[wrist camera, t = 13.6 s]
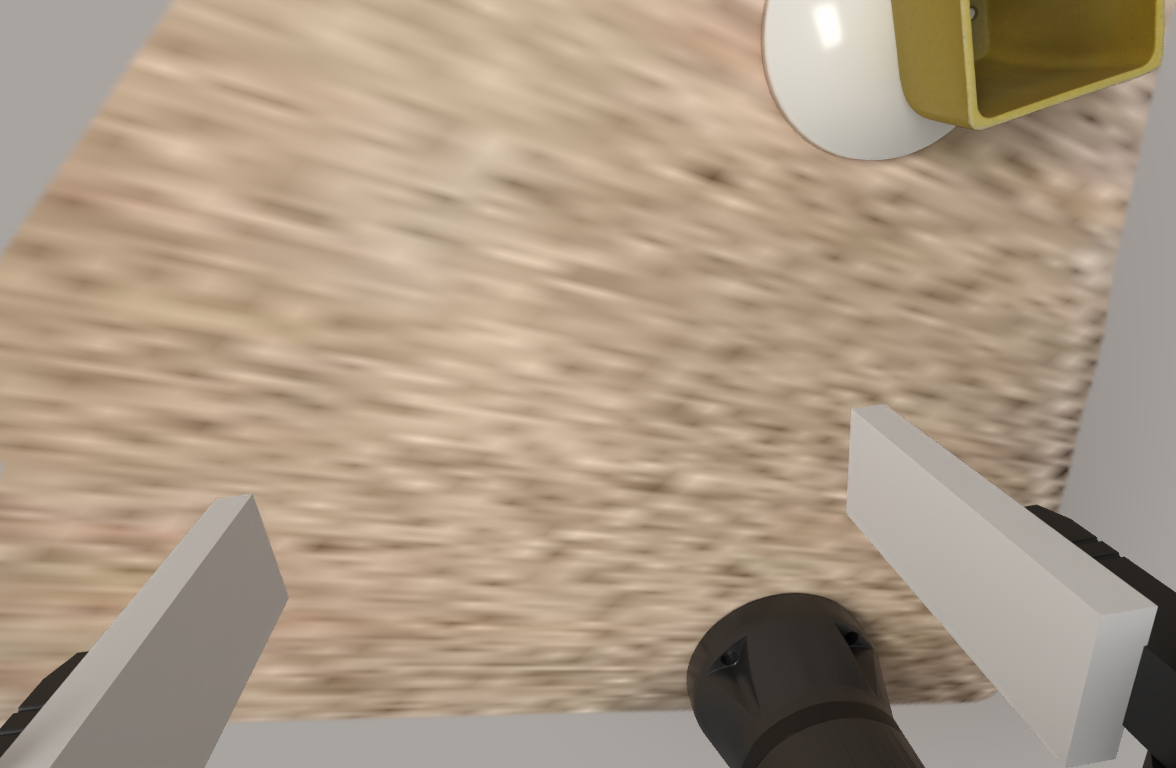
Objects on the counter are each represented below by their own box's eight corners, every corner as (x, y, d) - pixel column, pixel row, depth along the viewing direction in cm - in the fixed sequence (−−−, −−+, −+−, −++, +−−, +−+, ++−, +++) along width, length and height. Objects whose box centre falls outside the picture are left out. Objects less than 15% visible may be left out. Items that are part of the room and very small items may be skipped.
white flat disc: (986, 145, 39) (1000, 145, 38) (761, 172, 38) (768, 173, 37) (1019, -137, 34) (1036, -147, 33) (759, -112, 33) (768, -121, 32)
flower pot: (870, 134, 37) (973, 134, 29) (847, -37, 34) (955, -93, 25) (1018, 83, 37) (1164, 68, 28) (1009, -94, 33) (1171, -169, 25)
